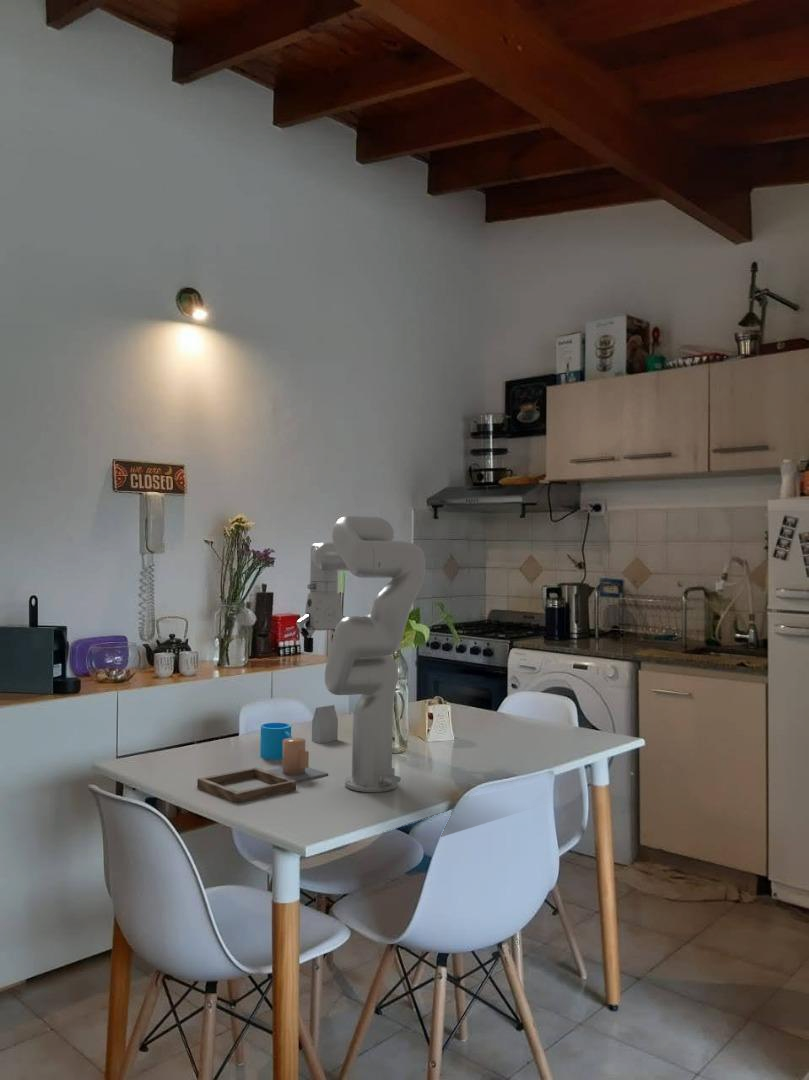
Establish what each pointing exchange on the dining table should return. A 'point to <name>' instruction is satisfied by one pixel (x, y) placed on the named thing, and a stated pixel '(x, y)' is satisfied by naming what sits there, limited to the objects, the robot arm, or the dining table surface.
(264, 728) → the mug
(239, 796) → the wooden square frame
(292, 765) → the jug
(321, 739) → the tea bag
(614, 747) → the dining table surface
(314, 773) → the mat
